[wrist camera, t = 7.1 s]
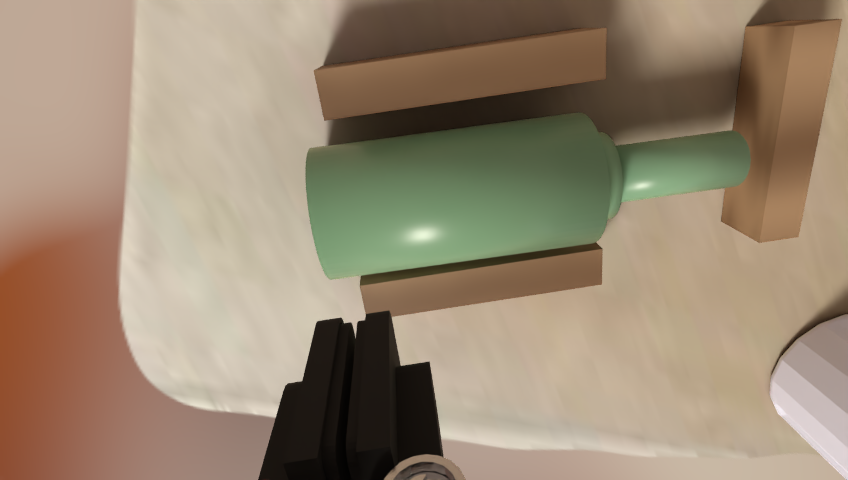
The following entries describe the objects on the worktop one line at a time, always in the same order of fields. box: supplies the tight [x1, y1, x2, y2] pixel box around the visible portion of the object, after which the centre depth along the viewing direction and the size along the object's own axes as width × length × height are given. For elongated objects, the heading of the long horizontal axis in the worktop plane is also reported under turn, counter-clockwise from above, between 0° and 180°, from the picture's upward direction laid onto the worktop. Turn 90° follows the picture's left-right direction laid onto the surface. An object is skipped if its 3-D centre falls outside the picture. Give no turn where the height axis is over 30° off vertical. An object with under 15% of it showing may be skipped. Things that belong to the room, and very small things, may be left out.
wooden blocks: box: [314, 19, 842, 317], centre depth 23 cm, size 12×22×3 cm, turn 97°
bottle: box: [306, 112, 751, 280], centre depth 22 cm, size 6×6×19 cm
